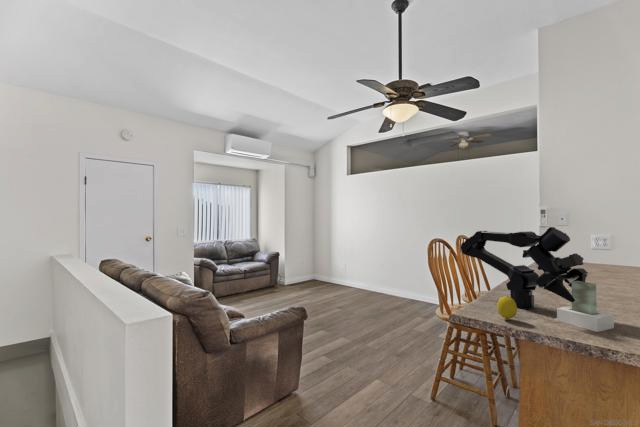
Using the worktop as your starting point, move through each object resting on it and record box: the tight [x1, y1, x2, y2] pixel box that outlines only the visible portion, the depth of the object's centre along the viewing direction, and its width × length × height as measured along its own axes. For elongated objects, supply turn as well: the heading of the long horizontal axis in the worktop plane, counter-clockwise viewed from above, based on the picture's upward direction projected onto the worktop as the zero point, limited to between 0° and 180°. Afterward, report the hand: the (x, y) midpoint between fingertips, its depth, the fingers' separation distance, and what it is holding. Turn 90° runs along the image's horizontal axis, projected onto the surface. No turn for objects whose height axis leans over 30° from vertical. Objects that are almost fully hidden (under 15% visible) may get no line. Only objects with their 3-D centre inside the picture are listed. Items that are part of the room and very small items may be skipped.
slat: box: [571, 281, 598, 315], centre depth 94 cm, size 5×3×13 cm, turn 21°
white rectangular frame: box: [556, 305, 615, 333], centre depth 94 cm, size 11×9×4 cm
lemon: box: [496, 295, 518, 321], centre depth 98 cm, size 6×6×8 cm
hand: (582, 300), depth 94 cm, fingers open, 9 cm apart
